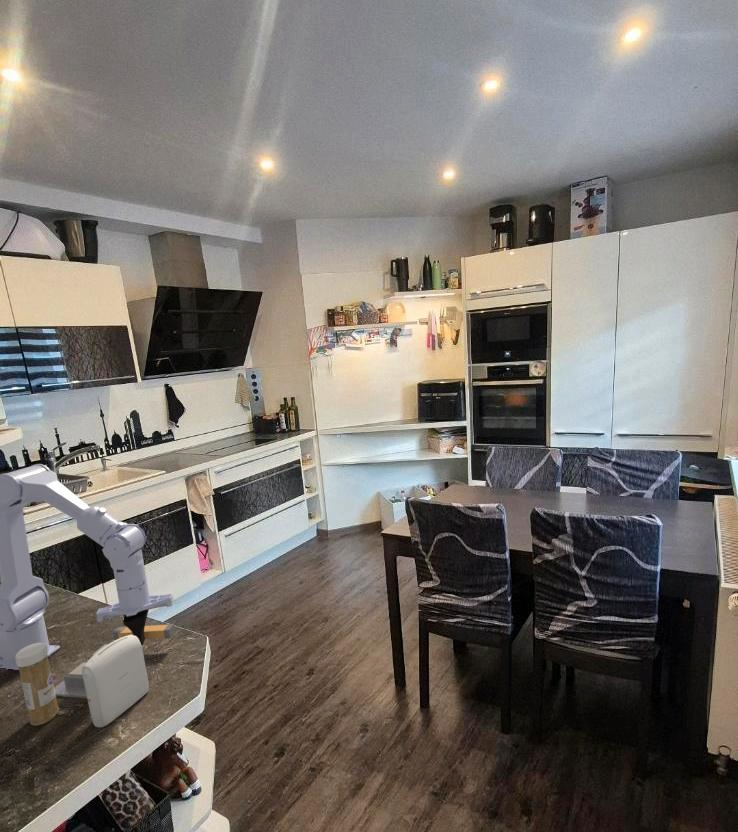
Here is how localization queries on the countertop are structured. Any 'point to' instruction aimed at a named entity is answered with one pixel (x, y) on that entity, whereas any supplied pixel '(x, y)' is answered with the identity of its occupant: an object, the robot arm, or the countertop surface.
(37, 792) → the countertop surface
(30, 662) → the sprinkles bottle
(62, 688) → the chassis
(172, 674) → the countertop surface
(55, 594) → the countertop surface
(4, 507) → the robot arm
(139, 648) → the photo printer
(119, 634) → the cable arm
